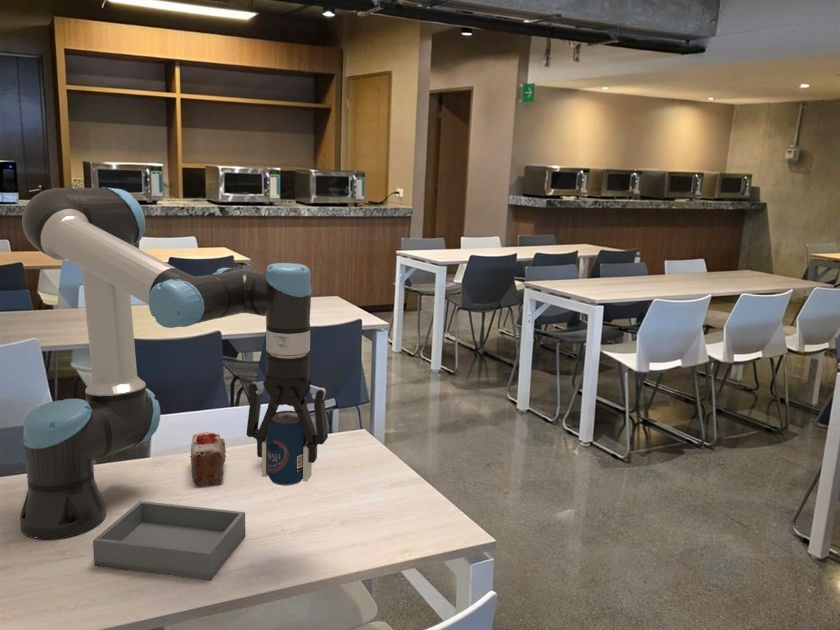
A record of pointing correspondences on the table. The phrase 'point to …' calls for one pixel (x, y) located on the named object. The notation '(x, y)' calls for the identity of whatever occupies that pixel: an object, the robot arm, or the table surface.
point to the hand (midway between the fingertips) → (286, 475)
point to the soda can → (285, 448)
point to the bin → (170, 540)
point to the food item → (207, 459)
